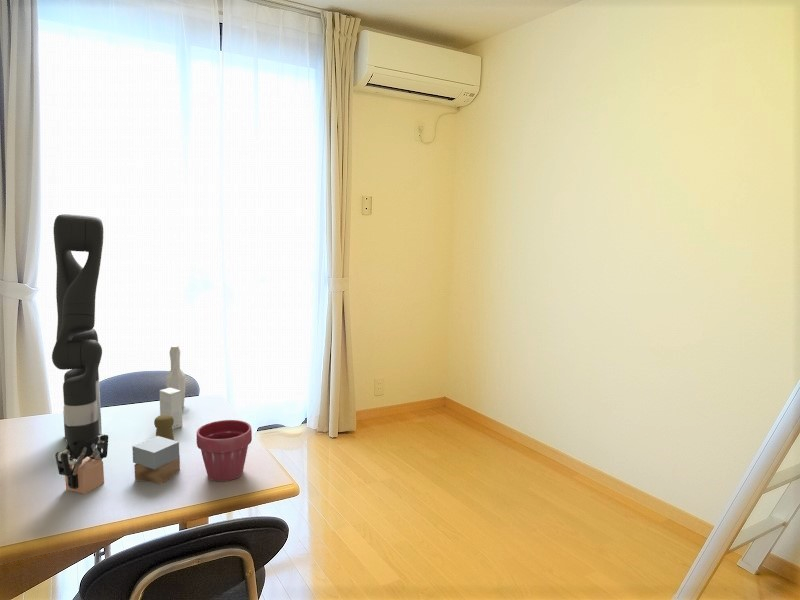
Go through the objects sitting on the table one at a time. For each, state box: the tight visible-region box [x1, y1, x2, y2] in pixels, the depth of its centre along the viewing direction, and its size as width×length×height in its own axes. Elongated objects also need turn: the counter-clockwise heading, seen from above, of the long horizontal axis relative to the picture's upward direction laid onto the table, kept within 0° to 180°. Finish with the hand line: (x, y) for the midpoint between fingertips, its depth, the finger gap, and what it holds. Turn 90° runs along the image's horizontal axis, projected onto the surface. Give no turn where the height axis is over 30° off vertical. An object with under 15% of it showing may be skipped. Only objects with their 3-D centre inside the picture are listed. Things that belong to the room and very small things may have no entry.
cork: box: [153, 414, 175, 441], centre depth 165 cm, size 6×6×11 cm
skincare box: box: [158, 388, 184, 430], centre depth 185 cm, size 6×4×12 cm
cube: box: [64, 457, 105, 495], centre depth 144 cm, size 6×6×6 cm
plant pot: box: [196, 419, 253, 482], centre depth 153 cm, size 14×14×13 cm
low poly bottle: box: [165, 345, 187, 408], centre depth 201 cm, size 6×6×22 cm
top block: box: [132, 435, 180, 469], centre depth 151 cm, size 8×8×4 cm
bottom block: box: [133, 454, 181, 484], centre depth 152 cm, size 8×8×4 cm
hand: (85, 481), depth 144 cm, fingers closed on cube, 6 cm apart
